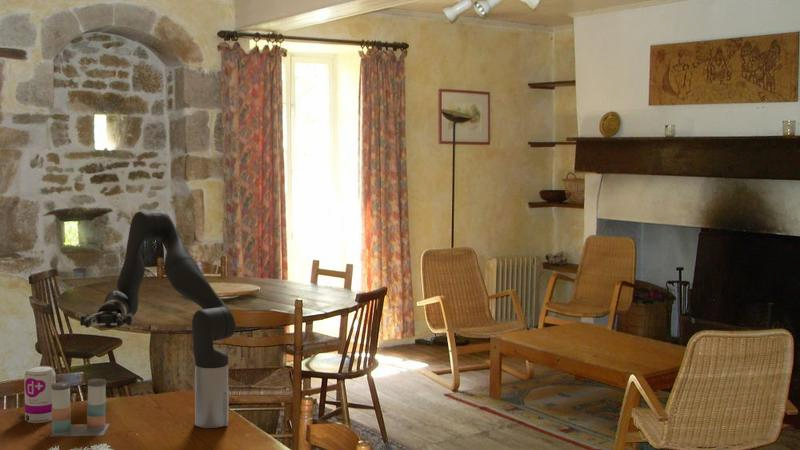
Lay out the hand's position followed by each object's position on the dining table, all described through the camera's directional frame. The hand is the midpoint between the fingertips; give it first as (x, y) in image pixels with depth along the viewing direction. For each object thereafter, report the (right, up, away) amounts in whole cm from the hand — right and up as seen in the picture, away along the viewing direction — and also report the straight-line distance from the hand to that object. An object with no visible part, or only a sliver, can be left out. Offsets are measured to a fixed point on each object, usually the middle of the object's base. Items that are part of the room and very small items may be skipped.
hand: (102, 323), depth 261 cm
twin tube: (-7, -28, -13) cm, 32 cm away
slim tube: (+1, -28, -8) cm, 29 cm away
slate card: (-3, -29, -10) cm, 30 cm away
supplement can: (-17, -28, -1) cm, 33 cm away
